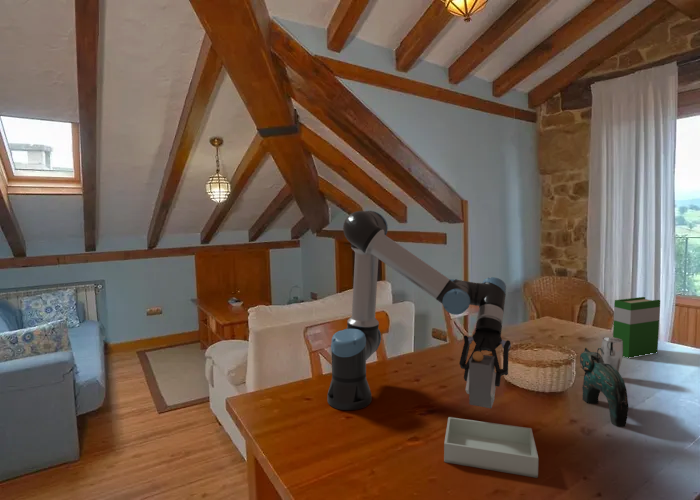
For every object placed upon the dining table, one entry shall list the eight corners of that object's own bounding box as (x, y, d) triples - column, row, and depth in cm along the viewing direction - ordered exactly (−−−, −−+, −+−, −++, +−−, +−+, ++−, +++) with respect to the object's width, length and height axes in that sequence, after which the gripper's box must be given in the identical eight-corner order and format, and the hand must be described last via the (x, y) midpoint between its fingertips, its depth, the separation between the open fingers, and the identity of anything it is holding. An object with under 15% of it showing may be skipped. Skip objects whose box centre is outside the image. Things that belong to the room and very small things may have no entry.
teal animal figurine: (576, 397, 138) (578, 340, 137) (595, 397, 138) (597, 340, 136) (612, 428, 119) (615, 361, 117) (634, 428, 118) (637, 361, 117)
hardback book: (640, 348, 186) (643, 296, 184) (657, 353, 179) (660, 300, 177) (612, 353, 180) (614, 300, 178) (628, 358, 173) (631, 303, 171)
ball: (477, 365, 115) (469, 357, 115) (478, 360, 118) (471, 352, 118) (485, 360, 114) (477, 351, 114) (486, 355, 116) (478, 347, 117)
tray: (444, 461, 104) (444, 443, 103) (448, 433, 117) (448, 416, 116) (537, 477, 97) (538, 458, 96) (531, 445, 110) (531, 428, 110)
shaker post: (473, 395, 121) (473, 353, 120) (494, 399, 118) (494, 356, 117) (469, 404, 116) (469, 360, 114) (491, 408, 113) (491, 363, 112)
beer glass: (625, 382, 150) (627, 342, 148) (604, 380, 151) (606, 341, 150) (616, 374, 156) (618, 337, 155) (597, 373, 158) (598, 336, 156)
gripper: (523, 331, 124) (517, 405, 111) (460, 325, 133) (448, 393, 120) (521, 319, 119) (515, 395, 106) (456, 313, 128) (443, 382, 115)
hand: (479, 394), depth 113 cm, fingers closed on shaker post, 6 cm apart
